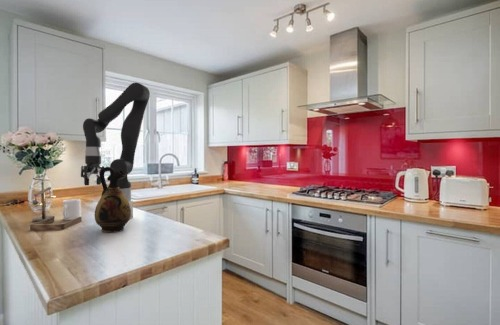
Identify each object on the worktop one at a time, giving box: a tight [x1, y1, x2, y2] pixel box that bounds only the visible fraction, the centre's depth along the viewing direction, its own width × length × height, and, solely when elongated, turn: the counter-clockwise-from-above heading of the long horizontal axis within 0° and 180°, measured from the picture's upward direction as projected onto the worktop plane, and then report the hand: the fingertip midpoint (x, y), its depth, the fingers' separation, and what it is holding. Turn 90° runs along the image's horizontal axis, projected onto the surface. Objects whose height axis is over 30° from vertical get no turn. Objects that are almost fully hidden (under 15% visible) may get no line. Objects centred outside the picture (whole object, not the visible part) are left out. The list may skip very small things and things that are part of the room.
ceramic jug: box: [94, 166, 131, 234], centre depth 124 cm, size 17×15×30 cm
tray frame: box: [29, 216, 82, 231], centre depth 132 cm, size 15×15×2 cm
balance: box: [28, 186, 57, 223], centre depth 143 cm, size 6×16×17 cm, turn 3°
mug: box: [61, 198, 82, 221], centre depth 144 cm, size 12×8×10 cm
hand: (92, 185), depth 143 cm, fingers open, 8 cm apart
